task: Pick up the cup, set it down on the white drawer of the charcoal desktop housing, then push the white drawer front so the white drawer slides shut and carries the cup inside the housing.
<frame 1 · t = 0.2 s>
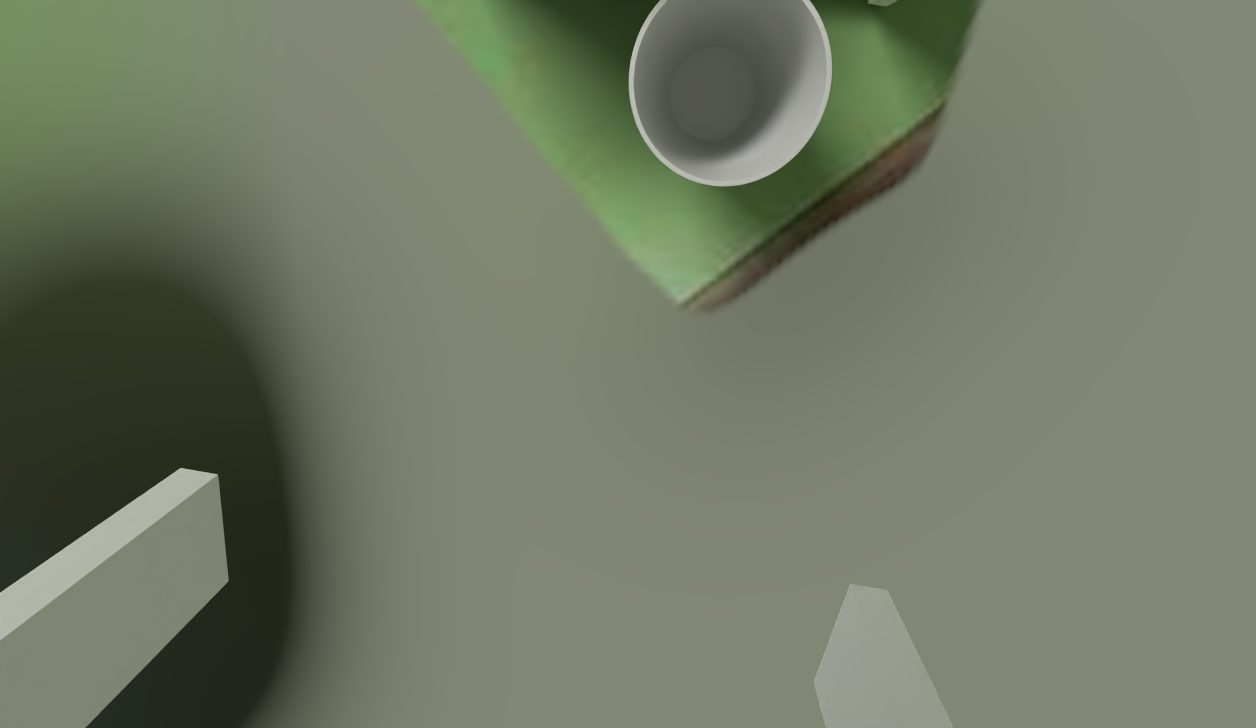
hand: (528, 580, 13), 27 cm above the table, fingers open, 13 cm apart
cup: (711, 95, 34), on the table
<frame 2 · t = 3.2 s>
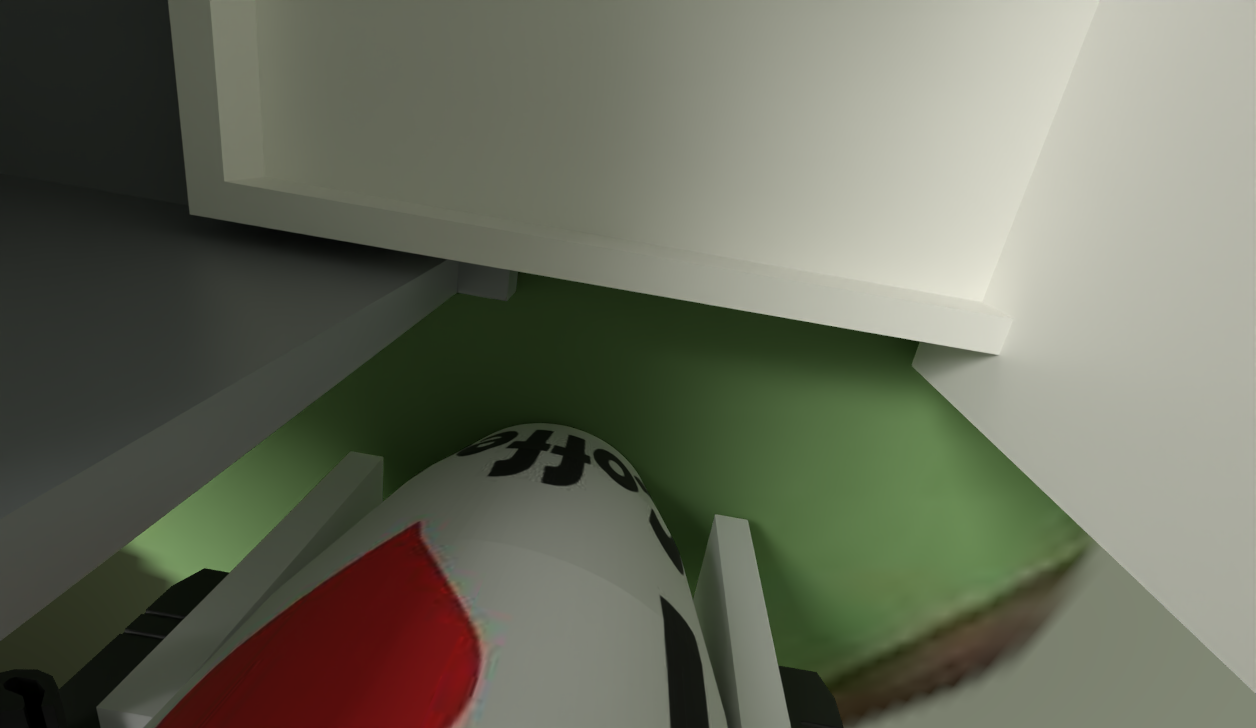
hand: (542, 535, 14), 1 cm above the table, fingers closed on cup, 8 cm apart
cup: (549, 512, 15), on the table, touching gripper
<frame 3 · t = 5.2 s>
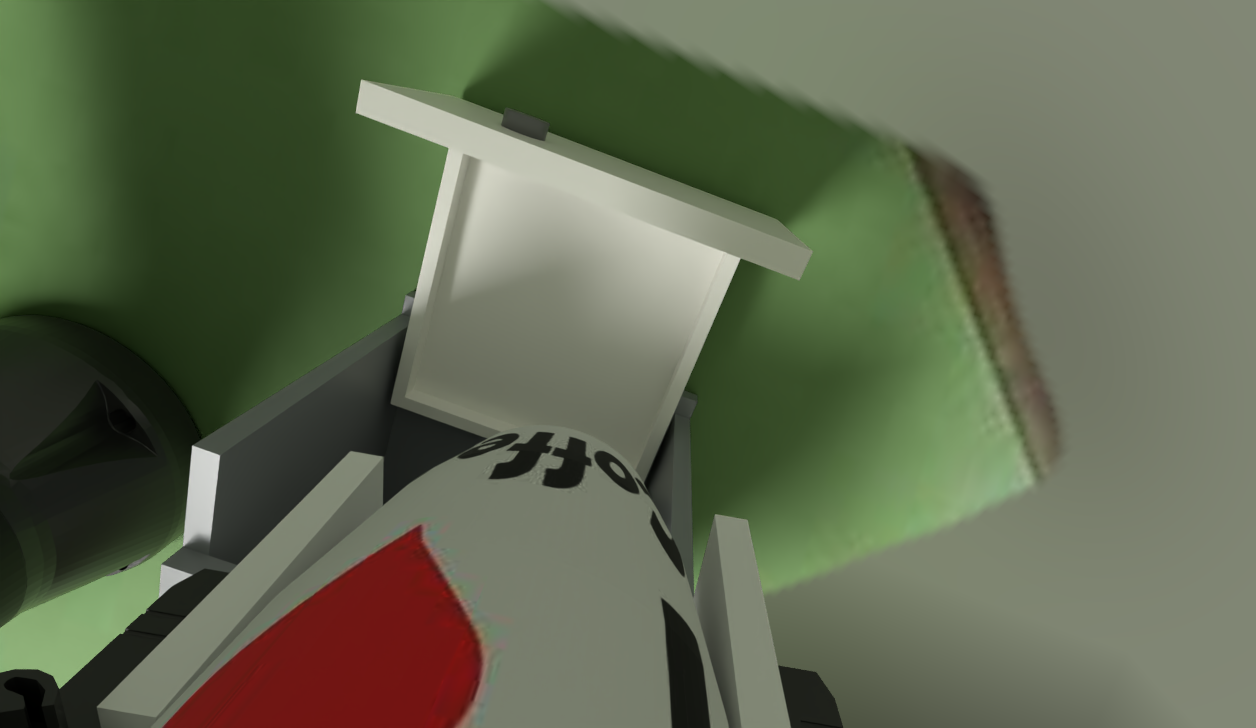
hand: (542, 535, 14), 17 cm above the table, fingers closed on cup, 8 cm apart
housing: (522, 446, 32), on the table
white drawer: (554, 321, 25), point 4 cm above the table, slide at 8.0 cm
cup: (550, 514, 15), point 16 cm above the table, touching gripper
when the fingers open (5 cm above the table, at t = 7.2 s): cup drops 2 cm, resting on white drawer.
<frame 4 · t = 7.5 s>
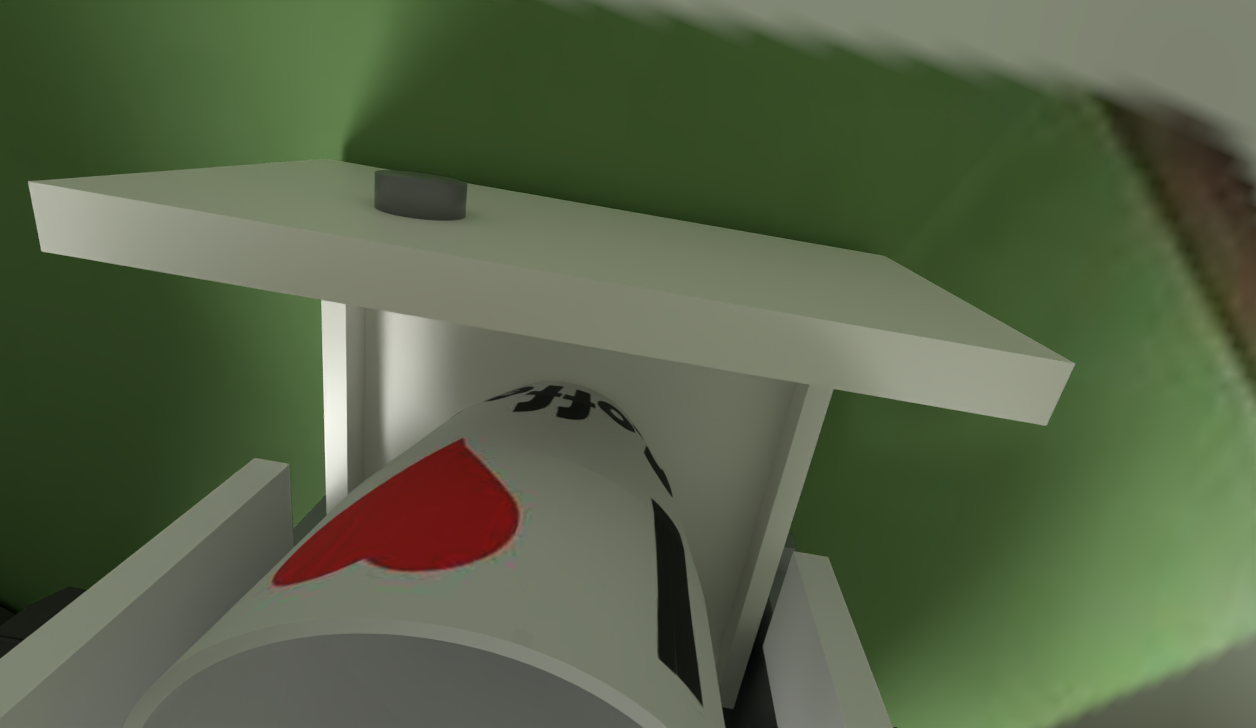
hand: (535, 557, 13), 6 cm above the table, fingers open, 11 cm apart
housing: (544, 637, 22), on the table
white drawer: (550, 503, 15), point 4 cm above the table, slide at 8.0 cm, touching cup
cup: (558, 461, 17), point 2 cm above the table, touching white drawer
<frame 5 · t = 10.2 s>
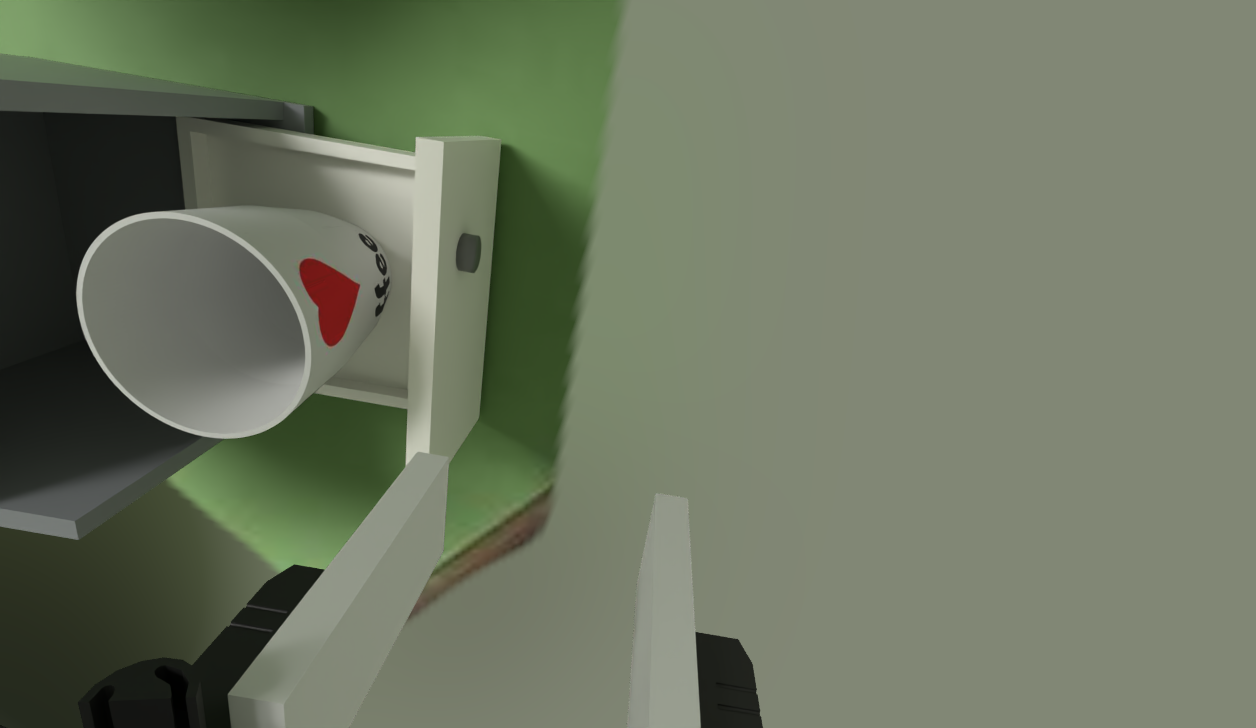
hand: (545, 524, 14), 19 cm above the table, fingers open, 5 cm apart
housing: (201, 238, 32), on the table
white drawer: (323, 287, 28), point 4 cm above the table, slide at 8.0 cm, touching cup
cup: (342, 270, 30), point 2 cm above the table, touching white drawer
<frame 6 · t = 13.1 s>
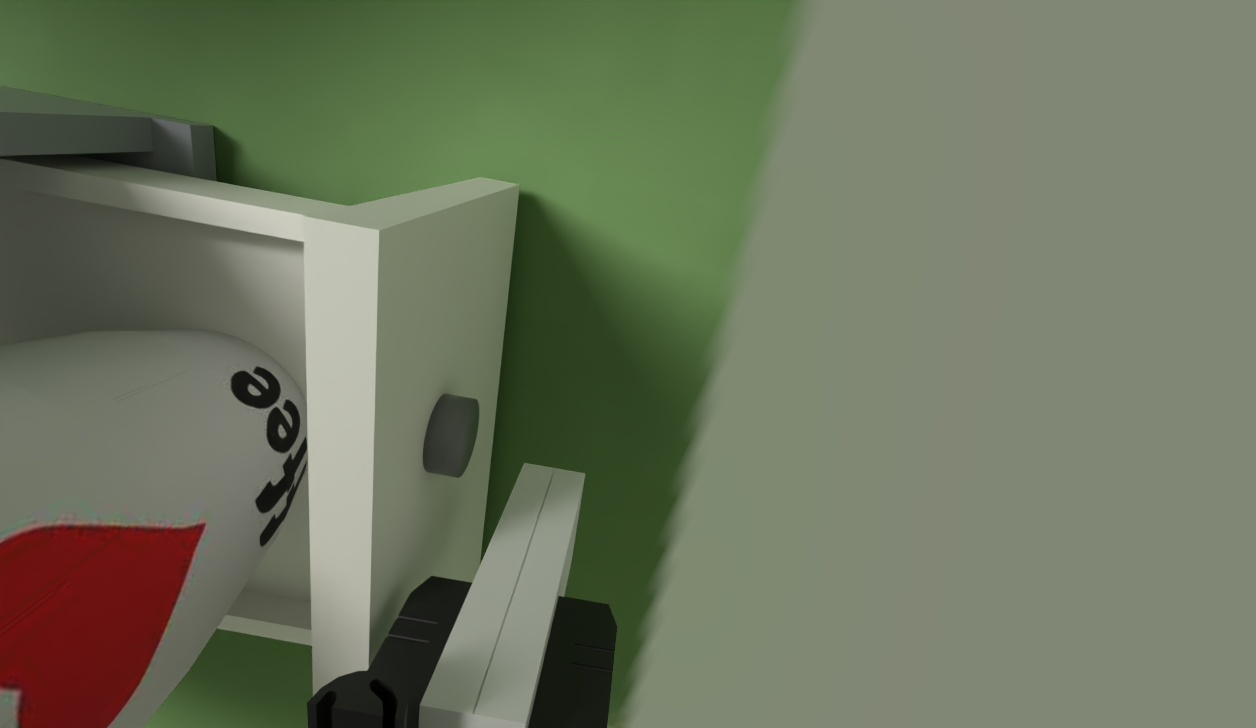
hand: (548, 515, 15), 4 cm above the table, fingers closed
housing: (29, 350, 18), on the table
white drawer: (168, 471, 14), point 4 cm above the table, slide at 6.8 cm, touching cup, gripper
cup: (226, 414, 17), point 2 cm above the table, touching white drawer
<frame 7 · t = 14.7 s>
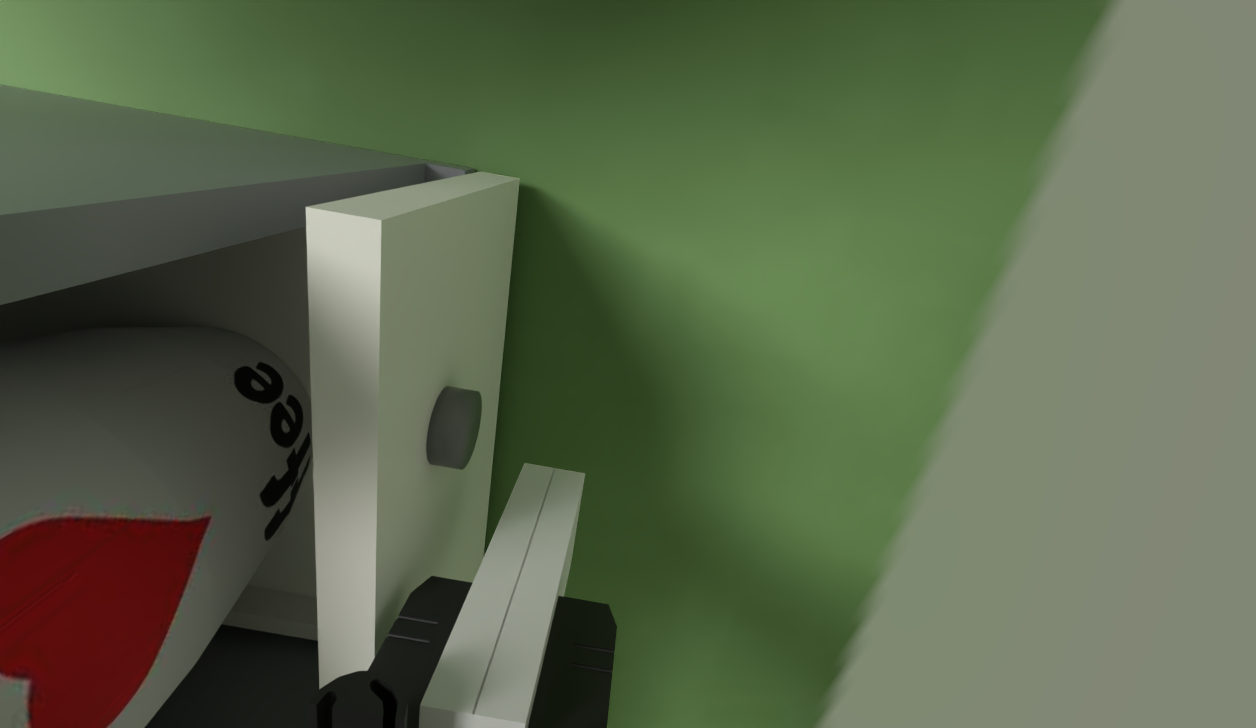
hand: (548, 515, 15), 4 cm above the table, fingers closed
housing: (255, 388, 18), on the table
white drawer: (172, 467, 14), point 4 cm above the table, slide at 0.0 cm, touching cup, gripper
cup: (230, 411, 17), point 2 cm above the table, touching white drawer
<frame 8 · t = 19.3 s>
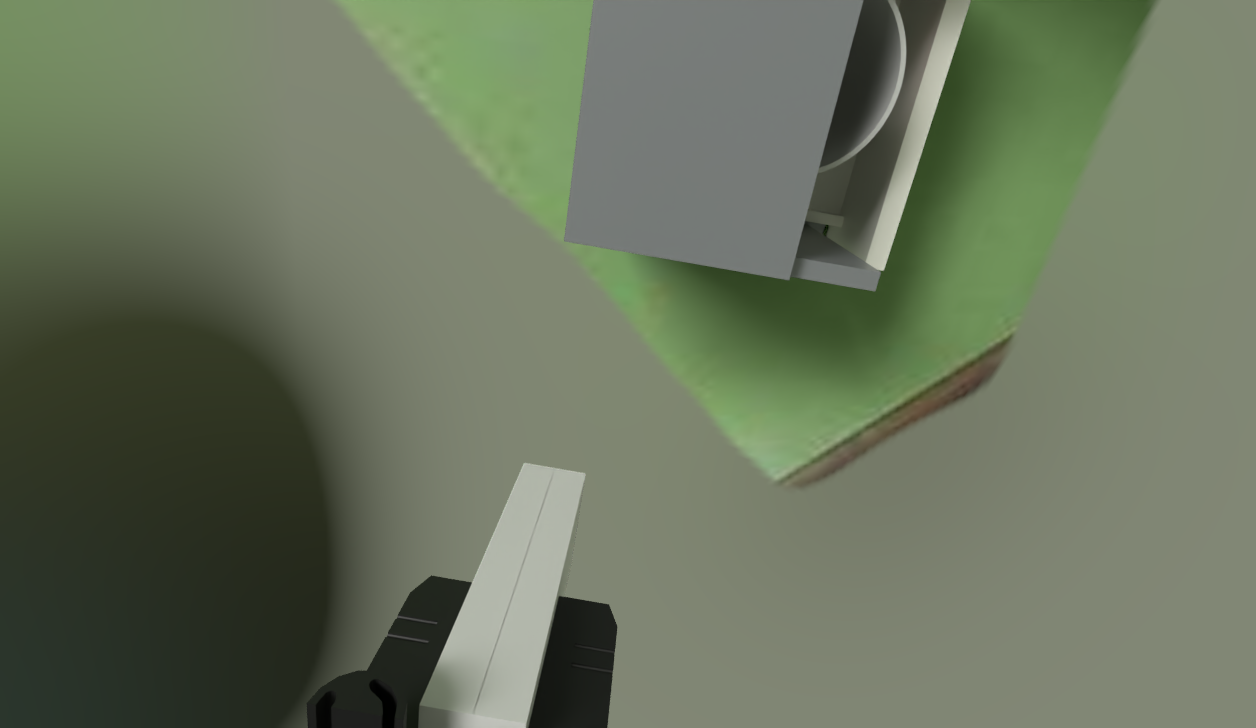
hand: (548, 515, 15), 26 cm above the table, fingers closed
housing: (748, 91, 35), on the table
white drawer: (775, 89, 31), point 4 cm above the table, slide at 0.0 cm, touching cup
cup: (761, 87, 33), point 2 cm above the table, touching white drawer
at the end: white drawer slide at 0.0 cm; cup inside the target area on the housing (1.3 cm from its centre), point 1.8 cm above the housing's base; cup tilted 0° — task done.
